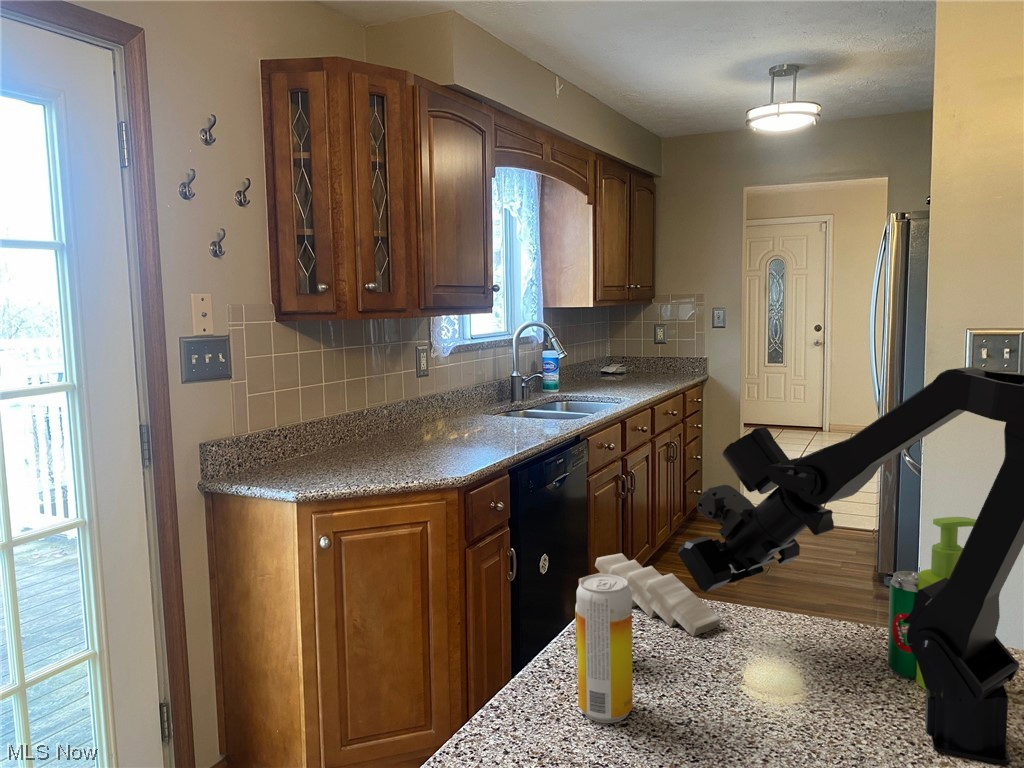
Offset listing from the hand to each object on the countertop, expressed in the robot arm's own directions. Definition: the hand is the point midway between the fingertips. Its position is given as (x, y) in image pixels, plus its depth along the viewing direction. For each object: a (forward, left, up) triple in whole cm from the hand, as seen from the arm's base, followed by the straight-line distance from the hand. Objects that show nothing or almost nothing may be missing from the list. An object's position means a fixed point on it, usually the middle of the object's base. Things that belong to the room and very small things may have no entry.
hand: (705, 582), depth 103 cm
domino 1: (+10, -6, -6) cm, 14 cm away
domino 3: (+3, -2, -6) cm, 7 cm away
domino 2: (+7, -4, -6) cm, 10 cm away
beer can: (+7, +25, -7) cm, 27 cm away
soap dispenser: (-29, +4, -7) cm, 30 cm away
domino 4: (0, 0, -6) cm, 6 cm away
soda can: (-25, +3, -7) cm, 26 cm away
